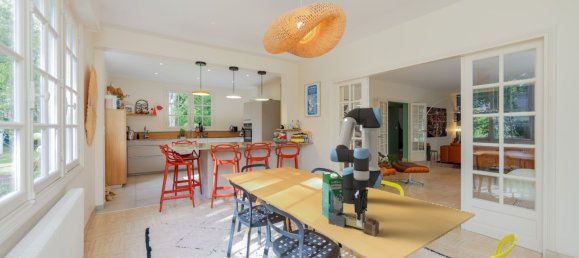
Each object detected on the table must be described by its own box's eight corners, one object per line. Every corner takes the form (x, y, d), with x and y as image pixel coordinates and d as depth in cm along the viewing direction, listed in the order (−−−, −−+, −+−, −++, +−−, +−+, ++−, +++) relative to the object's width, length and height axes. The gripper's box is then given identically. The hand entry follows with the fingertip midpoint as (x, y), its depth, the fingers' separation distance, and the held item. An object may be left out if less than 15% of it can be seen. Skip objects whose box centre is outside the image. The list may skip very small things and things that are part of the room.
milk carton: (328, 220, 132) (328, 175, 132) (322, 214, 141) (322, 172, 141) (343, 218, 135) (343, 174, 134) (336, 212, 144) (336, 171, 143)
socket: (368, 229, 121) (368, 217, 121) (378, 231, 118) (378, 219, 118) (363, 233, 116) (364, 220, 116) (374, 236, 113) (374, 223, 113)
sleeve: (334, 219, 133) (334, 208, 133) (349, 223, 128) (349, 212, 128) (328, 223, 128) (328, 212, 128) (343, 227, 123) (344, 216, 123)
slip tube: (341, 220, 129) (341, 203, 128) (373, 229, 118) (373, 210, 118) (339, 222, 126) (339, 205, 126) (370, 231, 116) (371, 212, 115)
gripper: (360, 174, 129) (359, 218, 129) (347, 180, 116) (347, 228, 116) (374, 176, 124) (373, 221, 124) (362, 182, 111) (361, 232, 112)
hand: (360, 224), depth 120 cm, fingers closed on slip tube, 3 cm apart
